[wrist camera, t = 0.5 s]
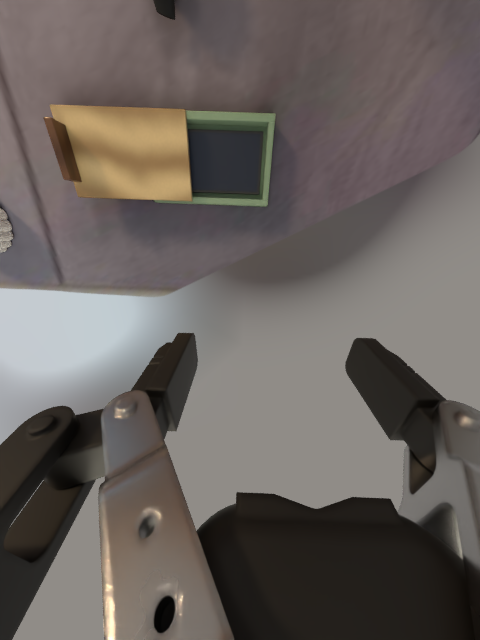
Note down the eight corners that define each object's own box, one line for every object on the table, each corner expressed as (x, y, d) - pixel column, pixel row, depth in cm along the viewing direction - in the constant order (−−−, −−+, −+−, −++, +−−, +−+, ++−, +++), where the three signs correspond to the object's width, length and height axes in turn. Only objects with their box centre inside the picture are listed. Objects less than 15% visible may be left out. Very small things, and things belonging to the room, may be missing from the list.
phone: (156, 130, 26) (153, 127, 25) (263, 133, 26) (263, 131, 25) (164, 191, 29) (162, 190, 28) (259, 195, 29) (259, 194, 28)
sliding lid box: (146, 116, 26) (139, 108, 24) (273, 120, 25) (275, 113, 24) (159, 202, 30) (153, 201, 28) (266, 206, 30) (267, 206, 28)
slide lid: (53, 106, 24) (32, 94, 21) (186, 111, 24) (180, 99, 21) (81, 197, 28) (66, 195, 26) (192, 201, 28) (188, 199, 26)
